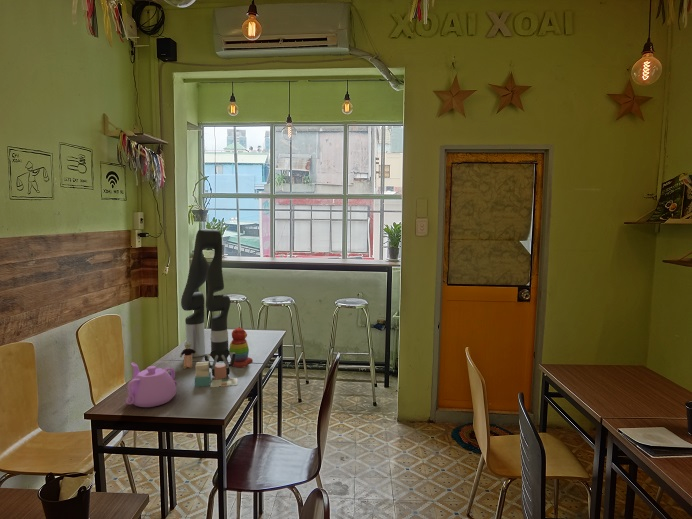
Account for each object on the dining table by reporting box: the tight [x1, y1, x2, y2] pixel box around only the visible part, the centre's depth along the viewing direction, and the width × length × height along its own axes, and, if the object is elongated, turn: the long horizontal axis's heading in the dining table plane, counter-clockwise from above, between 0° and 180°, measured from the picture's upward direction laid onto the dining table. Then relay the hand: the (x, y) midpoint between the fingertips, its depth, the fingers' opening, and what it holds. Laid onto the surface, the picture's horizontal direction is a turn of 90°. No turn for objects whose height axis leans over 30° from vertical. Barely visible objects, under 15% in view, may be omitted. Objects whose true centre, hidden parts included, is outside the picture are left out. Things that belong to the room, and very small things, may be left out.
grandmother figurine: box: [179, 341, 197, 370], centre depth 213 cm, size 8×4×13 cm, turn 117°
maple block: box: [195, 360, 210, 377], centre depth 192 cm, size 5×5×5 cm
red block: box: [214, 363, 228, 380], centre depth 200 cm, size 5×5×5 cm
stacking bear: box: [229, 326, 253, 368], centre depth 218 cm, size 11×10×18 cm
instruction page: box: [210, 377, 239, 388], centre depth 193 cm, size 8×11×1 cm
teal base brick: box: [194, 371, 212, 388], centre depth 192 cm, size 6×6×4 cm
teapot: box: [125, 361, 178, 408], centre depth 175 cm, size 22×22×14 cm
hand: (220, 375), depth 201 cm, fingers closed on red block, 5 cm apart
